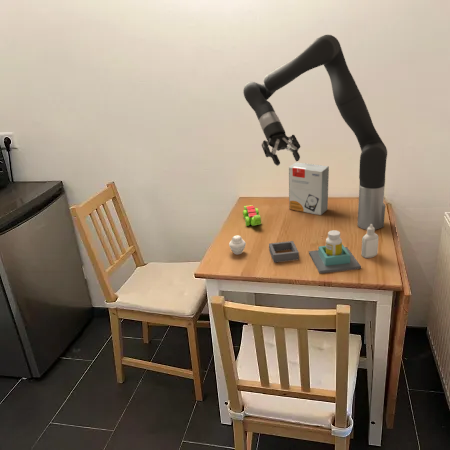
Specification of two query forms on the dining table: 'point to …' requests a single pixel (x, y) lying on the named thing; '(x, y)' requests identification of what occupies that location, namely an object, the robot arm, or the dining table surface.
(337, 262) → the port
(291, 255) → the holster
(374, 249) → the eye dropper bottle
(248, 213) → the toy crocodile
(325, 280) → the dining table surface
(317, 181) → the hard drive box
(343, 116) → the robot arm
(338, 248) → the supplement bottle
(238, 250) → the white ribbed rounded piece
